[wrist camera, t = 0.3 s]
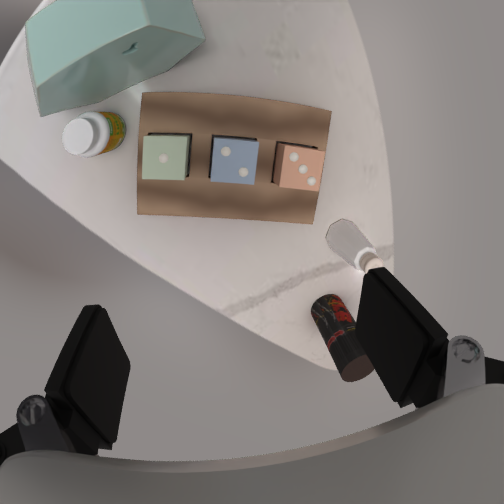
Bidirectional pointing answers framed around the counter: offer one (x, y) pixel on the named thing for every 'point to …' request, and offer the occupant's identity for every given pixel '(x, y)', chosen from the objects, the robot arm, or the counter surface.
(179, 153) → the tile one
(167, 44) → the mint hexagonal clock
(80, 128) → the supplement bottle
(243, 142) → the tile two
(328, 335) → the deodorant
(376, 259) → the pepper shaker
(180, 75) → the counter surface
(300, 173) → the tile three
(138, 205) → the board
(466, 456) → the robot arm
